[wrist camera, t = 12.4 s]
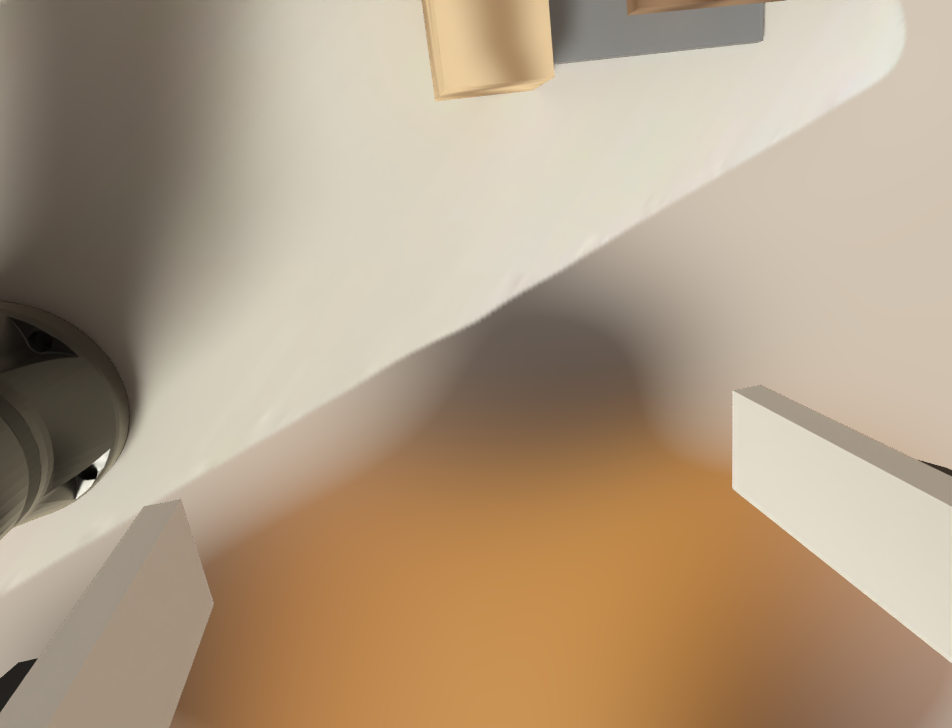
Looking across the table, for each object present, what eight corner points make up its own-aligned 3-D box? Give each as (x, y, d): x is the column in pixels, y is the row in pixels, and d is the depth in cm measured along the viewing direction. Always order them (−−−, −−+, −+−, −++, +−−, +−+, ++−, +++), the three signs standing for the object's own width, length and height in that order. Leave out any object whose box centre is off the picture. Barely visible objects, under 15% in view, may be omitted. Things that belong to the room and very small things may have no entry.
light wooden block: (435, 101, 41) (445, 88, 36) (419, -15, 39) (427, -43, 34) (532, 90, 42) (554, 76, 37) (522, -23, 40) (544, -53, 35)
